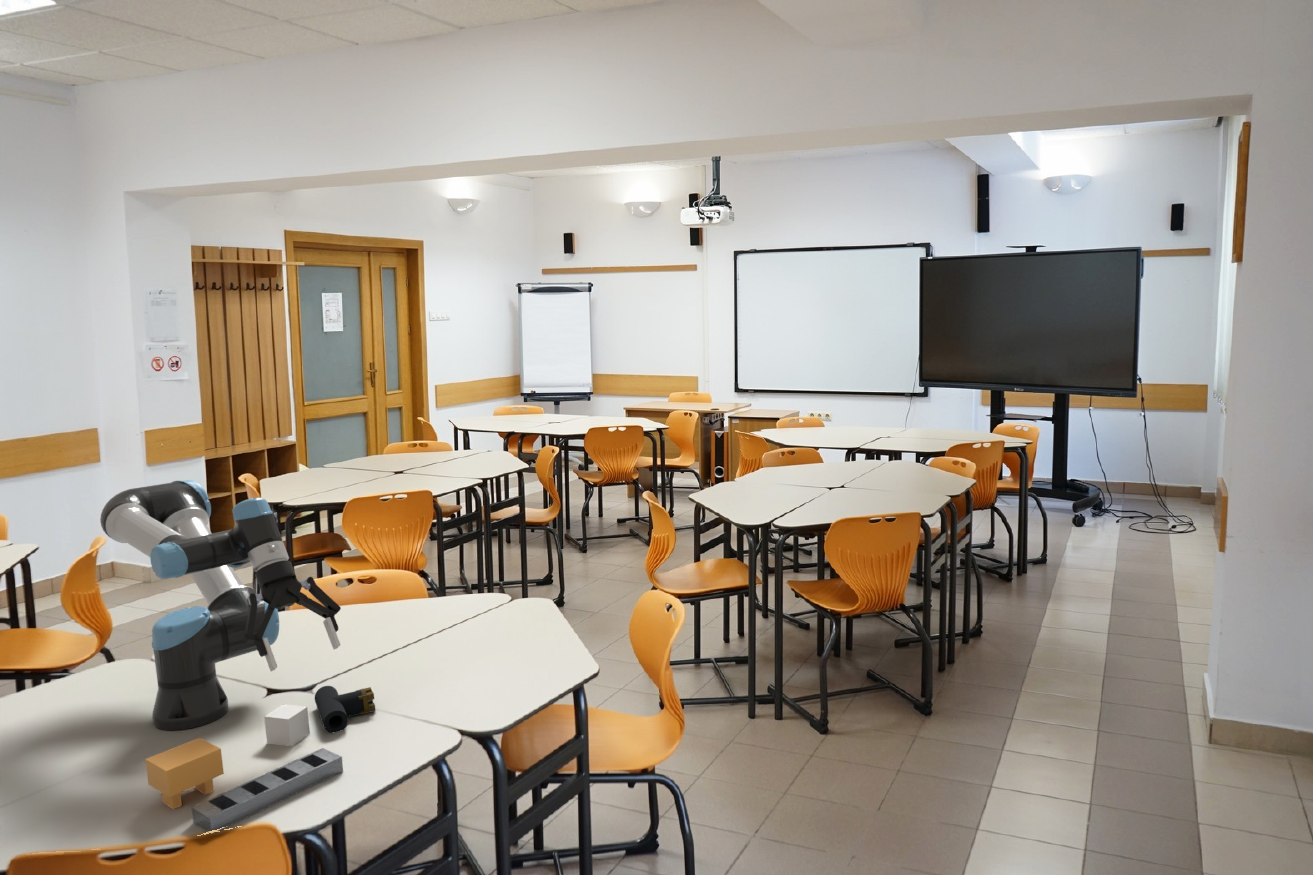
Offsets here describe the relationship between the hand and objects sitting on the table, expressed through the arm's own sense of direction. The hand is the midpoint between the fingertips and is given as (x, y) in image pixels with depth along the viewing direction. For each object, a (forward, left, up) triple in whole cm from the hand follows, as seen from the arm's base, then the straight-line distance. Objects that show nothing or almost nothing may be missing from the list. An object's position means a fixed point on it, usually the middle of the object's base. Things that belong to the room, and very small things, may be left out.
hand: (306, 658), depth 198 cm
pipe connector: (0, +9, -17) cm, 19 cm away
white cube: (-1, -5, -16) cm, 17 cm away
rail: (+18, -20, -16) cm, 31 cm away
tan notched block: (+5, -29, -16) cm, 34 cm away
